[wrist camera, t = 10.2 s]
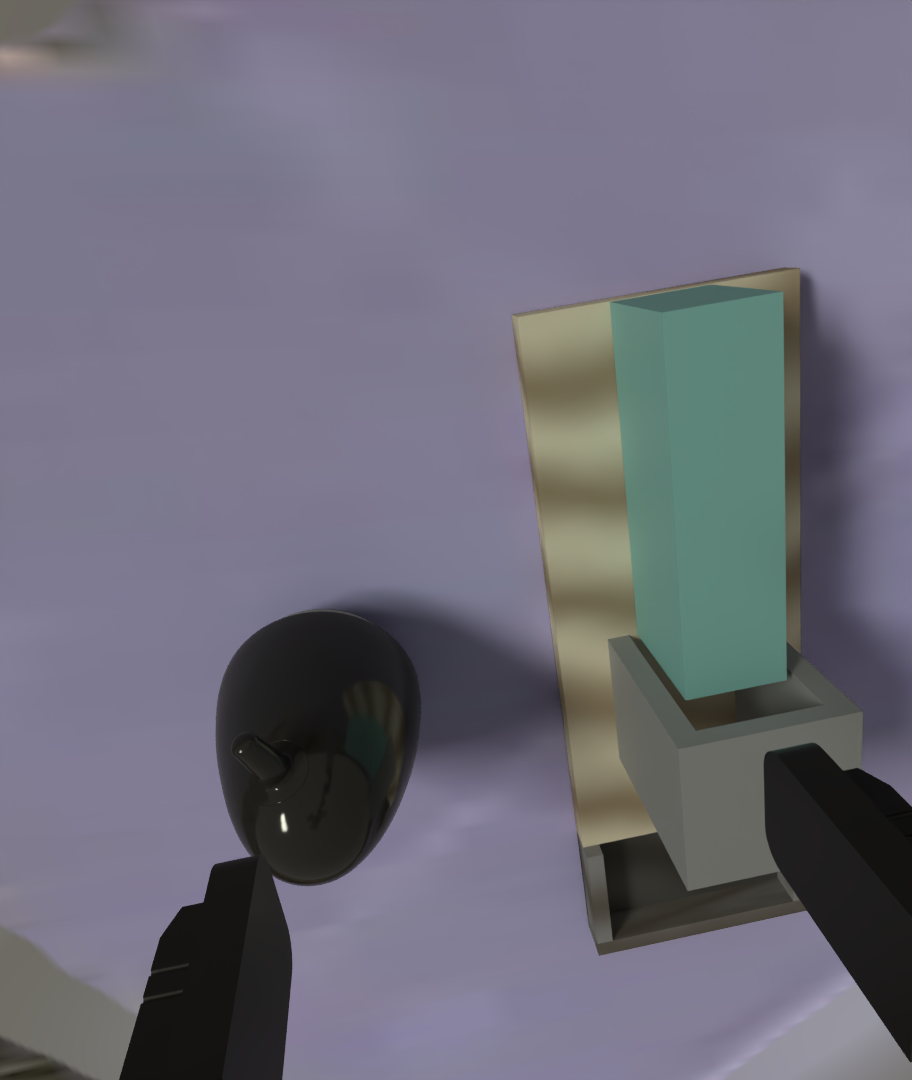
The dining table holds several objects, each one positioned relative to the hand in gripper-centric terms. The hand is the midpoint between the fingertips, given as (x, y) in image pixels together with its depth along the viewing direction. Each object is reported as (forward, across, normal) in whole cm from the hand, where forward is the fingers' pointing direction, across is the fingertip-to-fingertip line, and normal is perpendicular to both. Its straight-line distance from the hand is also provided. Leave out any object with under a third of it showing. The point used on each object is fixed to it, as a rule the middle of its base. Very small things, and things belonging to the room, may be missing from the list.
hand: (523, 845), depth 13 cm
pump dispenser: (+30, +7, +12) cm, 33 cm away
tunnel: (+29, -13, +17) cm, 36 cm away
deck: (+30, -13, +15) cm, 36 cm away
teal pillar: (+29, -13, +4) cm, 32 cm away
